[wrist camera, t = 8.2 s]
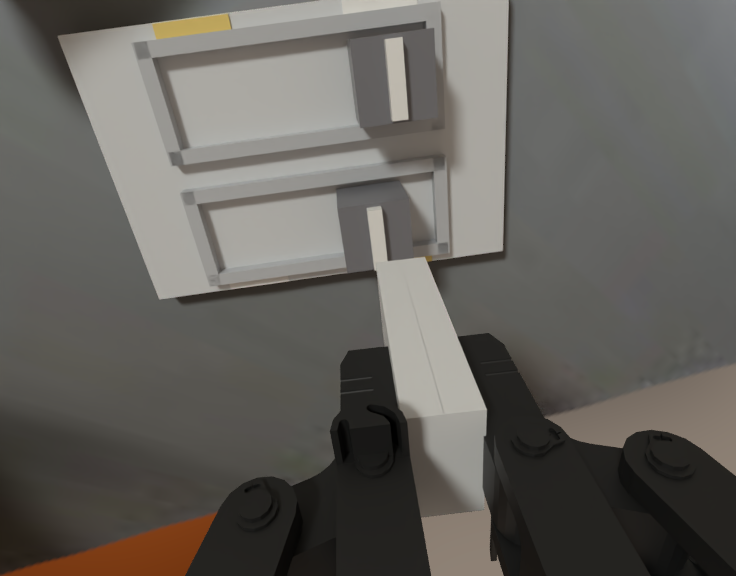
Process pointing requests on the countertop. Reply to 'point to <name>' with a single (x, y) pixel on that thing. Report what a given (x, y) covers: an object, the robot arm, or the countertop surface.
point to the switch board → (290, 136)
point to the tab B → (394, 77)
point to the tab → (374, 224)
